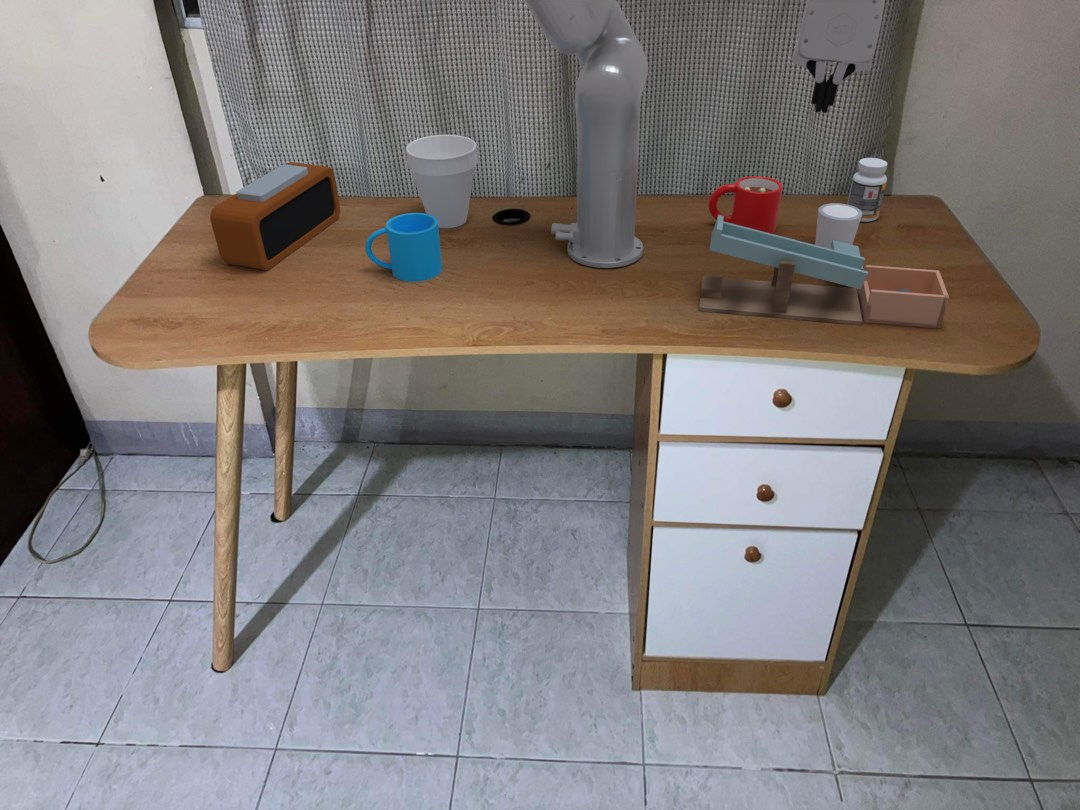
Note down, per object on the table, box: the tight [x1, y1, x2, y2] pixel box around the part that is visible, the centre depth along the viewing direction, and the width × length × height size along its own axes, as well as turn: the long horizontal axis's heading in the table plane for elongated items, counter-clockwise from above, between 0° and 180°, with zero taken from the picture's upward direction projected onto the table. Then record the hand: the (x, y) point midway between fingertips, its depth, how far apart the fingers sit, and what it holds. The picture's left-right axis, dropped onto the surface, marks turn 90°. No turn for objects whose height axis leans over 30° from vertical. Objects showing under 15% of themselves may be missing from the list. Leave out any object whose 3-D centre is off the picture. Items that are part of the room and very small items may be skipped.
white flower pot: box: [405, 134, 479, 229], centre depth 147 cm, size 12×12×14 cm
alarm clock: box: [210, 161, 341, 271], centre depth 142 cm, size 24×8×11 cm, turn 159°
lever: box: [709, 215, 868, 290], centre depth 122 cm, size 22×13×4 cm, turn 78°
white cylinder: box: [814, 202, 862, 249], centre depth 136 cm, size 7×7×7 cm
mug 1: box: [364, 212, 443, 283], centre depth 133 cm, size 12×8×8 cm
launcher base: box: [698, 236, 863, 326], centre depth 122 cm, size 23×10×8 cm, turn 78°
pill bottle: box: [847, 157, 888, 223], centre depth 146 cm, size 6×6×10 cm
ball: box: [896, 288, 912, 293], centre depth 120 cm, size 3×3×3 cm
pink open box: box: [858, 264, 950, 330], centre depth 120 cm, size 10×8×5 cm
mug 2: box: [708, 175, 783, 234], centre depth 144 cm, size 8×12×8 cm, turn 82°
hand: (820, 109), depth 119 cm, fingers closed
